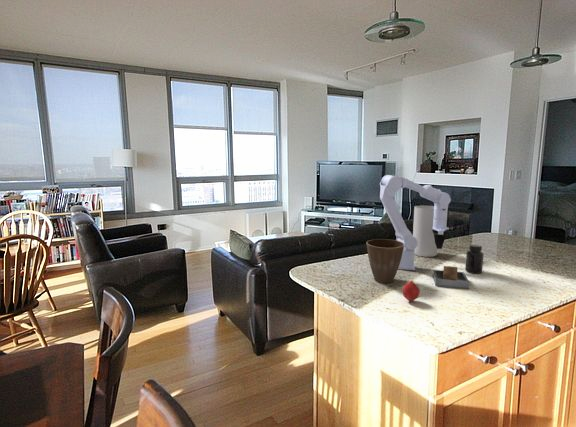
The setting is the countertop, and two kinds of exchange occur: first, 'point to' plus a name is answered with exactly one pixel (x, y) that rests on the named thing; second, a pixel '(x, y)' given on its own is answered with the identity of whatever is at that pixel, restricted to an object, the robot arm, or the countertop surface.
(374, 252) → the plant pot
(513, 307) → the countertop surface
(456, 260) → the countertop surface
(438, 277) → the square metal tray
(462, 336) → the countertop surface
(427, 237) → the cylinder vase
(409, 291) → the onion
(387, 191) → the robot arm
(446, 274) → the tan wooden brick
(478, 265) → the supplement bottle
